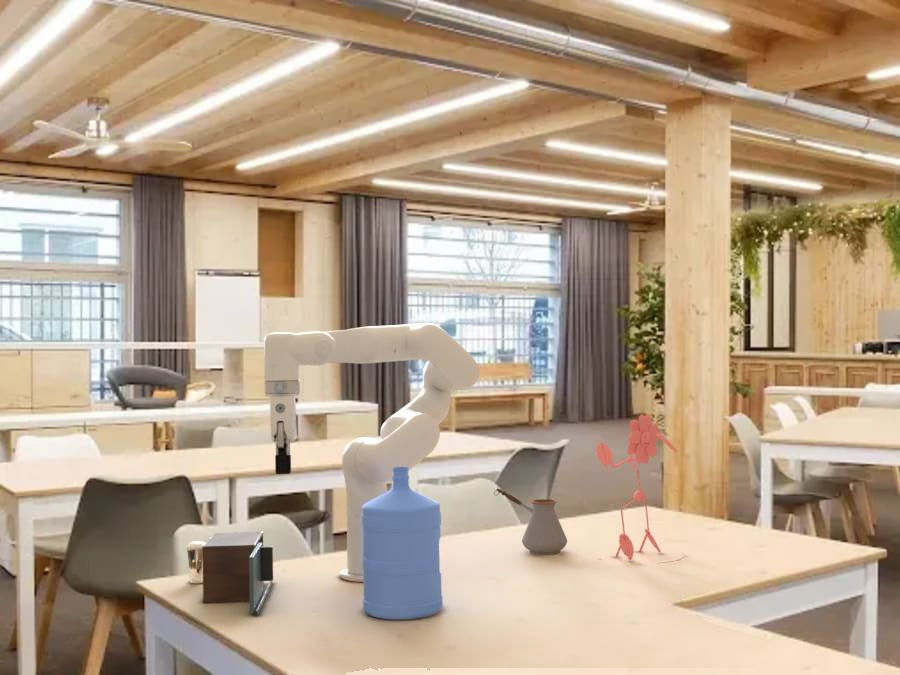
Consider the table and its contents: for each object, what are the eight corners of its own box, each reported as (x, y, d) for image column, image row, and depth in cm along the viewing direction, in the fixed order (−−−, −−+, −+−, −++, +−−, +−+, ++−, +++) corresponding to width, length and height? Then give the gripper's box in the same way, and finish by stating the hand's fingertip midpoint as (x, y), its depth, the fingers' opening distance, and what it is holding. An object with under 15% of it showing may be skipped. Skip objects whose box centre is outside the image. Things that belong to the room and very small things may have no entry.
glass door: (274, 593, 208) (273, 542, 208) (266, 612, 192) (265, 556, 193) (259, 594, 208) (258, 542, 208) (249, 612, 192) (249, 557, 192)
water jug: (413, 625, 183) (411, 474, 184) (346, 614, 192) (344, 470, 192) (457, 606, 197) (455, 465, 197) (393, 597, 205) (391, 462, 206)
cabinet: (272, 583, 220) (271, 531, 220) (257, 616, 192) (256, 556, 192) (215, 585, 219) (214, 533, 219) (192, 618, 191) (191, 558, 191)
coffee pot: (576, 550, 251) (575, 491, 251) (550, 558, 242) (548, 496, 243) (510, 541, 265) (509, 485, 265) (482, 548, 256) (481, 490, 257)
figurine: (590, 561, 237) (587, 416, 238) (657, 547, 254) (653, 410, 255) (641, 571, 225) (637, 418, 226) (707, 555, 242) (704, 412, 243)
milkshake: (206, 584, 220) (205, 539, 220) (183, 584, 221) (183, 539, 221) (214, 580, 224) (214, 536, 225) (193, 579, 225) (192, 535, 226)
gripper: (296, 389, 208) (298, 477, 208) (302, 387, 223) (303, 469, 223) (260, 390, 207) (261, 478, 207) (268, 388, 222) (269, 470, 222)
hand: (283, 473), depth 215 cm, fingers closed
